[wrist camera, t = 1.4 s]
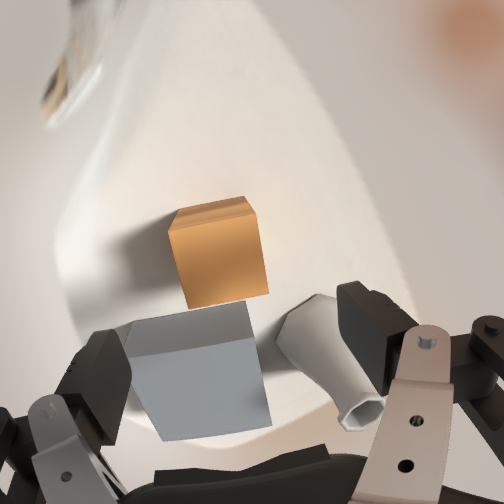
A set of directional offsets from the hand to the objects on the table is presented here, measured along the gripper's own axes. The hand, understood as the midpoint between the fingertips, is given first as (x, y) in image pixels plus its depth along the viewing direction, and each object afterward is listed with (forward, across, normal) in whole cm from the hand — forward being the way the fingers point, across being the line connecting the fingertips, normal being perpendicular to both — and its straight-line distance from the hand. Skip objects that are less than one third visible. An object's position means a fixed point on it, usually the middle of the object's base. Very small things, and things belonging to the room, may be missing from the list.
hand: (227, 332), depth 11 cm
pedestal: (+12, +4, +10) cm, 16 cm away
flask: (+13, -6, +10) cm, 17 cm away
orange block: (+12, 0, 0) cm, 12 cm away
